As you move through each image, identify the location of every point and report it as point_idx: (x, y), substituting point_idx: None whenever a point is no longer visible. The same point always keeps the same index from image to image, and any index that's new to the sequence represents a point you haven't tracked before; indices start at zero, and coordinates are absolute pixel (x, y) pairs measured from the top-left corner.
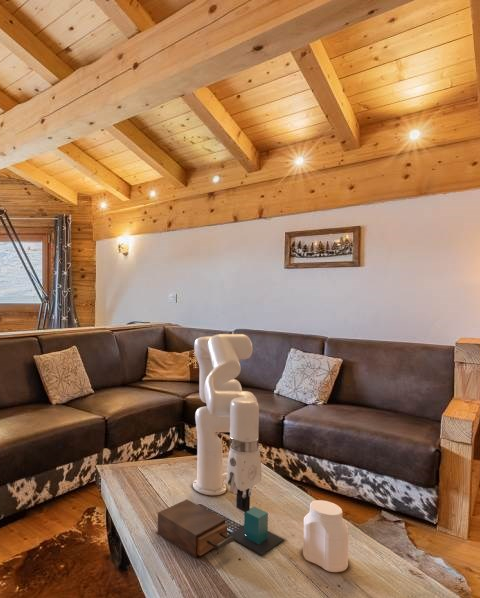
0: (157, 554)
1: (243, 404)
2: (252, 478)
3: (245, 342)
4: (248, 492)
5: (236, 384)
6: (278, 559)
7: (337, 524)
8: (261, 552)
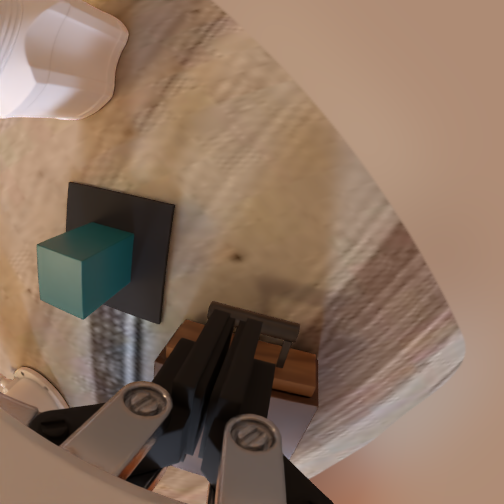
0: (356, 424)
1: None
2: None
3: None
4: (161, 426)
5: None
6: (158, 156)
7: None
8: (164, 210)
